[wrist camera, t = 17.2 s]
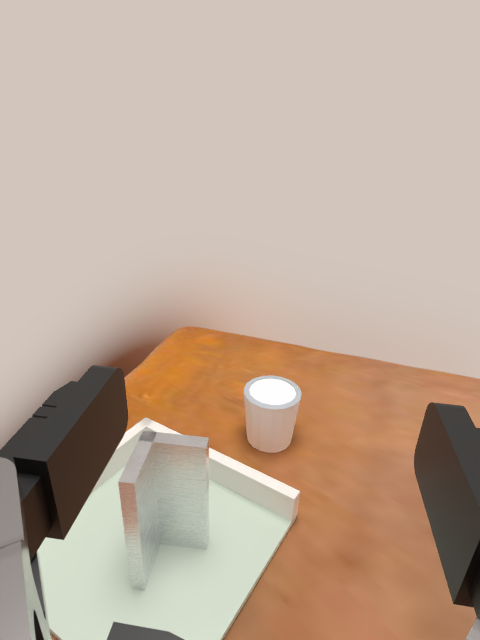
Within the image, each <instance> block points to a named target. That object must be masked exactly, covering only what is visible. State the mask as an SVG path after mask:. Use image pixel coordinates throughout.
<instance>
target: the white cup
mask: <svg viewBox="0 0 480 640" xmlns="http://www.w3.org/2000/svg"><path fill="white" fill-rule="evenodd" d="M301 394H302V393H301V391H300V388H299V387H298V386H297V385H296V384H295V383H294V382H293V381H290V380H288V379H286V378H283V377H278V376H261V377H257V378H254V379H252V380H251V381H249V382H248V383H246V386H245V388H244V403H245V418H246V433H247V439H248V442H249V443H250V444H251V446H252V447H254V448H256V449H257V450H259V451H263V452H267V453H274V452H280V451H282V450H285V449H286V448H287V447H288V446H289V445H290V443H291V439H292V435H293V430H294V426H295V421H296V417H297V412H298V408H299V403H300V399H301Z"/></svg>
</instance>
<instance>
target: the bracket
mask: <svg viewBox="0 0 480 640" xmlns="http://www.w3.org/2000/svg"><path fill="white" fill-rule="evenodd" d="M118 485H119V493H120V501H121V509H122V517H123V526H124V534H125V542H126V550H127V558H128V566H129V574H130V582H131V589H138V590H146V587H147V584H148V581H149V578H150V575H151V571H152V568H153V565H154V562H155V559H156V556H157V553H158V550H159V546H160V544H164V545H171V546H179V547H187V548H194V549H202V550H207V545H208V541H209V438H207V437H198V436H189V435H179V434H170V433H161V432H151V431H143V432H142V434H141V436H140V438H139V440H138V442H137V444H136V446H135V448H134V450H133V452H132V454H131V456H130V458H129V460H128V462H127V464H126V466H125V469H124V471H123V473H122V475H121V477H120V479H119V481H118Z"/></svg>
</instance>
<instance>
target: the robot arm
mask: <svg viewBox="0 0 480 640" xmlns="http://www.w3.org/2000/svg"><path fill="white" fill-rule="evenodd" d="M127 422H128V409H127V400H126V390H125V380H124V374H123V371H122V369H120V368H114V367H105V366H96V365H94V366H91V367H90V368H89V369H88V371H87V372H86V373H85V374H84V375H83V377H82V378H81V379H80V380H79V381H78V382H73V381H71V382H69V383H68V384H66V385H64V386H63V387H61V388H59V389H58V390H56V391H54V392H53V393H52V394H51V396H50V397H49V398H48V399H47V400H46V401H45V402H44V403H43V404H42V407H40V408H39V409H38V410H37V411H36V412H35V413H34V414H33V417H32V418H29V419H28V421H27V422H26V423H25V424H24V425H23V426H22V427H21V428H20V429H19V430H18V432H17V433H16V434H15V435H14V436H13V437H12V438H11V439H10V440H9V441H8V442H7V444H6V445H5V446H4V447H3V448H2V449H1V450H0V640H51V634H50V628H49V621H48V614H47V607H46V601H45V594H44V587H43V580H42V573H41V566H40V559H39V554H38V549H39V547H40V546H41V544H42V542H43V541H44V539H45V538H46V537H47V538H53V539H60V540H64V539H65V537H66V535H67V534H68V532H69V530H70V529H71V527H72V525H73V523H74V522H75V520H76V518H77V516H78V515H79V513H80V511H81V509H82V508H83V506H84V504H85V502H86V501H87V499H88V497H89V496H90V494H91V492H92V490H93V489H94V487H95V485H96V483H97V482H98V480H99V478H100V476H101V475H102V473H103V471H104V469H105V468H106V466H107V464H108V462H109V461H110V459H111V457H112V456H113V454H114V452H115V450H116V449H117V447H118V445H119V443H120V442H121V440H122V438H123V436H124V434H125V431H126V428H127ZM414 468H415V474H416V478H417V482H418V485H419V488H420V492H421V495H422V499H423V502H424V505H425V509H426V512H427V516H428V519H429V522H430V526H431V529H432V533H433V536H434V539H435V543H436V546H437V550H438V553H439V557H440V560H441V563H442V567H443V570H444V574H445V577H446V580H447V584H448V587H449V591H450V594H451V597H452V601H453V604H457V605H463V606H469V607H474V609H475V612H476V615H477V618H476V620H475V622H474V624H473V626H472V628H471V630H470V632H469V634H468V636H467V638H466V640H480V428H476V427H475V425H474V423H473V422H472V420H471V418H470V416H469V414H468V412H467V410H466V409H465V407H464V406H459V405H450V404H441V403H430V404H429V405H428V406H427V409H426V412H425V416H424V420H423V423H422V427H421V431H420V434H419V438H418V442H417V445H416V449H415V456H414ZM107 640H184V639H182V638H180V637H179V636H177V635H175V634H173V633H171V632H169V631H163V630H157V629H152V628H146V627H141V626H135V625H130V624H124V623H119V622H113V624H112V627H111V630H110V632H109V635H108V637H107Z"/></svg>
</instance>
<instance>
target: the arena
mask: <svg viewBox="0 0 480 640" xmlns="http://www.w3.org/2000/svg"><path fill="white" fill-rule="evenodd" d="M143 431H151V432H161V433H170V434H179V435H182V434H180V433H177V432H175V431H173V430H171V429H169V428H167V427H165V426H163V425H161V424H159V423H157V422H154V421H152V420H150V419H148V418H146V417H145V418H144V419H143V420H141V421H140V422H139V423H137V424H136V425H135V426H133V427H132V428H131V429H129V430H128V431H127V432H125V434H124V436H123V438H122V440H121V442H120V443H119V445H118V447H117V449H116V450H115V452H114V454H113V456H112V457H111V459H110V461H109V462H108V464H107V466H106V468H105V469H104V471H103V473H102V475H101V476H100V478H99V480H98V482H97V483H96V485H95V487H94V489H93V490H92V492H91V494H90V496H89V497H88V499H87V501H86V502H85V504H84V506H83V508H82V509H81V511H80V513H79V515H78V516H77V518H76V520H75V522H74V523H73V525H72V527H71V529H70V530H69V532H68V534H67V535H66V537H65V539H64V540H60V539H53V538H47V537H46V538H45V539H44V541H43V542H42V544H41V546H40V547H39V549H38V554H39V559H40V566H41V573H42V580H43V587H44V594H45V601H46V607H47V614H48V621H49V628H50V632H51V633H52V634H53V635H54V636H55V637H56V638H57V639H58V640H107V637H108V635H109V632H110V630H111V627H112V624H113V622H119V623H124V624H130V625H135V626H141V627H146V628H152V629H157V630H163V631H169V632H171V633H173V634H175V635H177V636H179V637H180V638H182V639H184V640H223V639H224V637H225V636H226V634H227V632H228V631H229V629H230V627H231V626H232V624H233V622H234V621H235V619H236V617H237V616H238V614H239V612H240V611H241V609H242V607H243V606H244V604H245V602H246V601H247V599H248V597H249V596H250V594H251V592H252V591H253V589H254V587H255V586H256V584H257V582H258V581H259V579H260V577H261V576H262V574H263V572H264V571H265V569H266V567H267V566H268V564H269V562H270V561H271V559H272V557H273V556H274V554H275V552H276V551H277V549H278V547H279V546H280V544H281V542H282V541H283V539H284V537H285V536H286V534H287V533H288V531H289V529H290V528H291V526H292V524H293V523H294V521H295V519H296V518H297V511H298V503H299V495H300V491H299V490H296V489H294V488H292V487H290V486H288V485H286V484H284V483H282V482H280V481H278V480H276V479H273V478H271V477H269V476H267V475H265V474H263V473H261V472H259V471H257V470H255V469H253V468H251V467H248V466H246V465H244V464H242V463H240V462H238V461H236V460H234V459H232V458H230V457H228V456H225V455H223V454H221V453H219V452H217V451H215V450H213V449H211V448H209V541H208V545H207V550H202V549H194V548H187V547H179V546H171V545H164V544H160V546H159V550H158V553H157V556H156V559H155V562H154V565H153V568H152V571H151V575H150V578H149V581H148V584H147V587H146V590H138V589H131V582H130V574H129V566H128V558H127V550H126V542H125V534H124V526H123V517H122V509H121V501H120V493H119V485H118V481H119V479H120V477H121V475H122V473H123V471H124V469H125V466H126V464H127V462H128V460H129V458H130V456H131V454H132V452H133V450H134V448H135V446H136V444H137V442H138V440H139V438H140V436H141V434H142V432H143Z"/></svg>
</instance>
